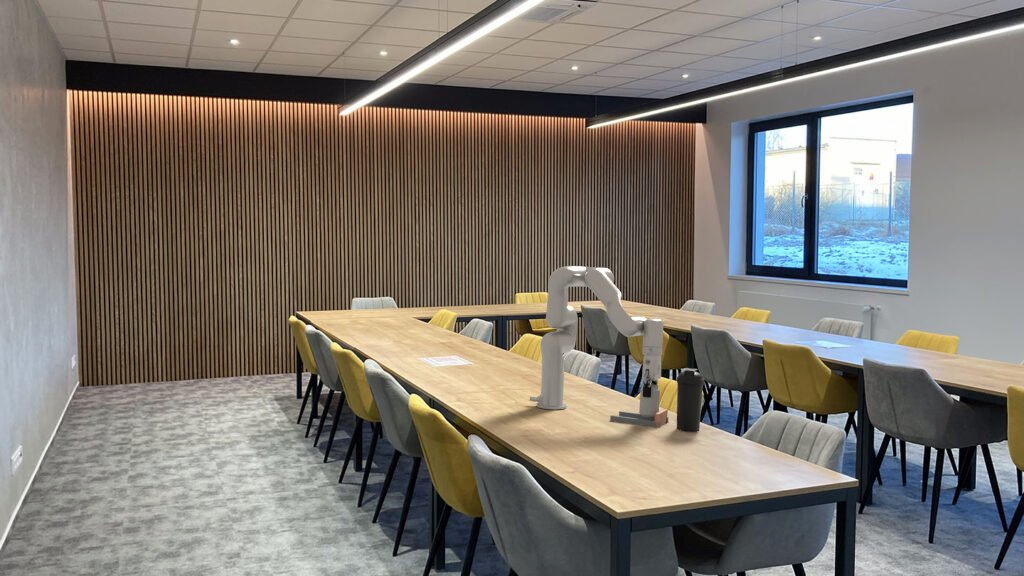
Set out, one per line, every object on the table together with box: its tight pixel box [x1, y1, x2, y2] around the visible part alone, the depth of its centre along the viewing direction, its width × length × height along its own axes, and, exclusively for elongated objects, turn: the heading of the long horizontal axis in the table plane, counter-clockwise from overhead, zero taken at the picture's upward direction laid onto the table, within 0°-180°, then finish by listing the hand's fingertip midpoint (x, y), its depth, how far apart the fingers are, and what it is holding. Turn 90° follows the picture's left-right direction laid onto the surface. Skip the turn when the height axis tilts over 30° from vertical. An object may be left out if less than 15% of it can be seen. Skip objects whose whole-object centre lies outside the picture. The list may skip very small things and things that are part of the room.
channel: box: [609, 408, 670, 428], centre depth 335 cm, size 20×11×5 cm, turn 63°
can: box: [638, 384, 661, 417], centre depth 333 cm, size 8×8×12 cm
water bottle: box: [676, 367, 705, 433], centre depth 324 cm, size 10×10×23 cm
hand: (649, 395), depth 333 cm, fingers closed on can, 7 cm apart
